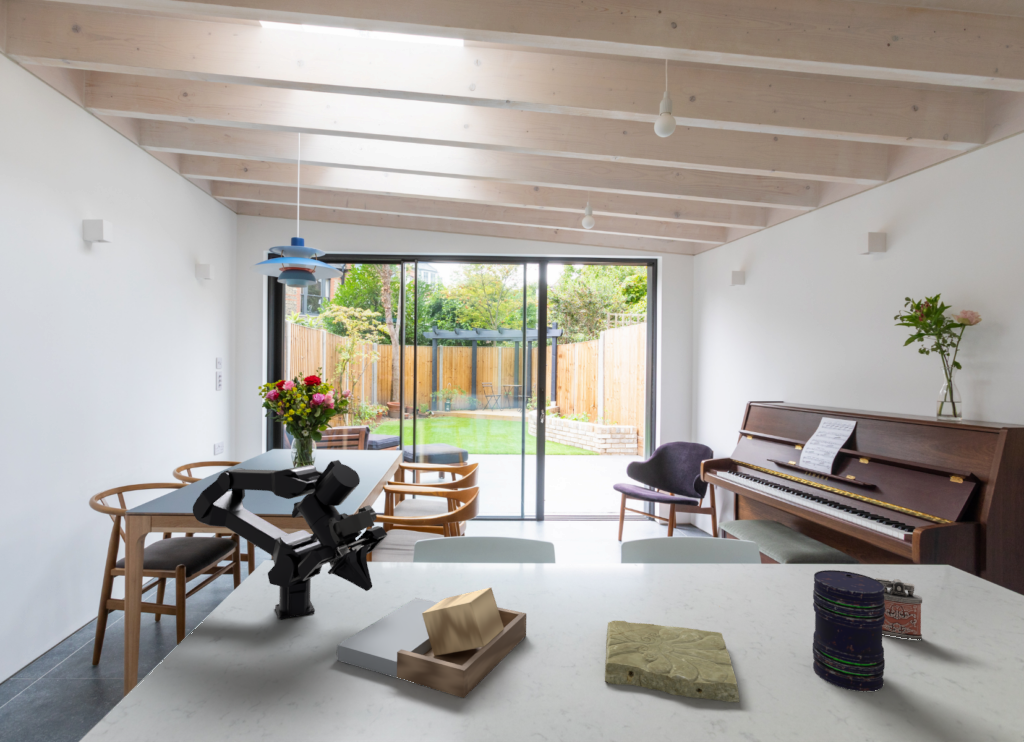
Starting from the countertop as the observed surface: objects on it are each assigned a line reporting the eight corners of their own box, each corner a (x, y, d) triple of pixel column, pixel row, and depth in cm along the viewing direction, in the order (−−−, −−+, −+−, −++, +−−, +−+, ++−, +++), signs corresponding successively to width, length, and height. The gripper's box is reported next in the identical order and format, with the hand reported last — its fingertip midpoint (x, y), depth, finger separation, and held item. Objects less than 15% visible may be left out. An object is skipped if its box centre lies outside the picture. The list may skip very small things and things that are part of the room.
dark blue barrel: (885, 699, 83) (886, 597, 83) (809, 680, 88) (810, 584, 89) (883, 670, 92) (884, 577, 92) (814, 653, 97) (815, 565, 97)
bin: (396, 678, 88) (397, 652, 88) (468, 622, 107) (468, 601, 108) (464, 698, 82) (464, 670, 82) (526, 635, 102) (526, 613, 102)
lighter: (919, 635, 104) (920, 580, 104) (924, 643, 101) (924, 587, 101) (868, 626, 108) (868, 573, 108) (870, 634, 105) (871, 579, 105)
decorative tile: (607, 635, 104) (607, 615, 104) (722, 647, 100) (723, 627, 100) (600, 690, 86) (601, 666, 86) (742, 709, 81) (742, 683, 81)
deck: (337, 660, 93) (337, 644, 93) (415, 610, 113) (416, 597, 113) (396, 678, 88) (397, 661, 88) (468, 622, 107) (468, 609, 108)
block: (421, 613, 95) (470, 602, 91) (444, 598, 101) (491, 587, 97) (434, 655, 94) (484, 646, 90) (456, 638, 100) (504, 628, 96)
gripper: (311, 504, 98) (360, 579, 93) (380, 485, 115) (425, 548, 110) (277, 543, 101) (323, 618, 96) (349, 519, 118) (391, 582, 113)
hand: (369, 588), depth 104 cm, fingers closed
